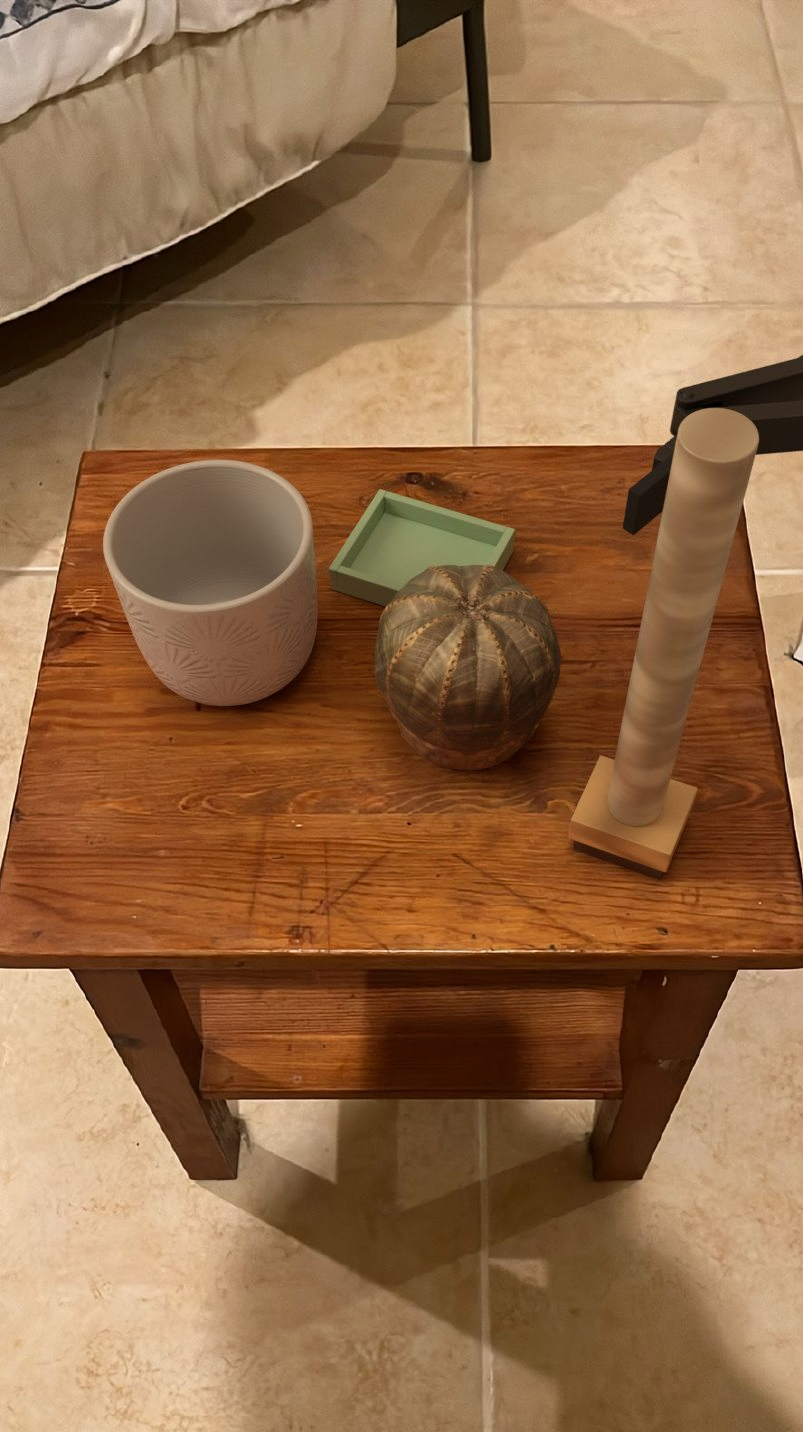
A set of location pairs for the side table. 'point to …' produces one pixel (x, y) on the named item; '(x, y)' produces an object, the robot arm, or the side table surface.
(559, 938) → the side table surface
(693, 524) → the paper towel holder
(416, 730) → the brown ribbed round dome
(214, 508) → the planter
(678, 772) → the side table surface
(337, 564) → the tray
